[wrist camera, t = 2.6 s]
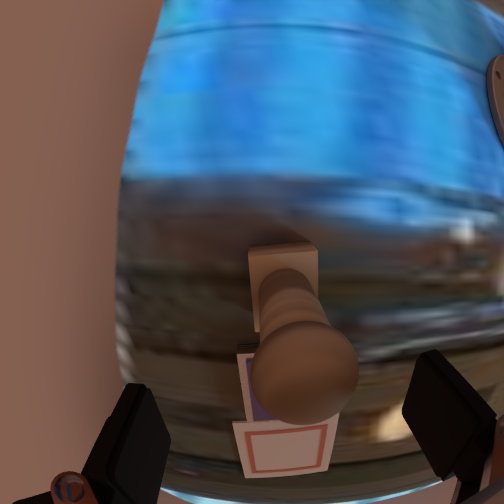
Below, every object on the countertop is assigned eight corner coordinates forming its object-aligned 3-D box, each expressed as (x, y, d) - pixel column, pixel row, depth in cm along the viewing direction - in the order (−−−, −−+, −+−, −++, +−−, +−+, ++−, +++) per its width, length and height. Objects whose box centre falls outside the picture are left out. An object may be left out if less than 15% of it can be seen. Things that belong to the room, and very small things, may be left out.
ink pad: (237, 345, 20) (236, 356, 19) (330, 336, 20) (334, 347, 19) (247, 413, 22) (247, 425, 21) (324, 406, 22) (327, 417, 21)
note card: (232, 420, 23) (232, 424, 22) (338, 410, 22) (339, 413, 22) (245, 476, 26) (245, 478, 26) (326, 468, 26) (327, 471, 25)
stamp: (248, 245, 18) (240, 356, 7) (309, 241, 18) (385, 339, 7) (254, 314, 20) (255, 456, 8) (311, 309, 20) (360, 442, 8)
